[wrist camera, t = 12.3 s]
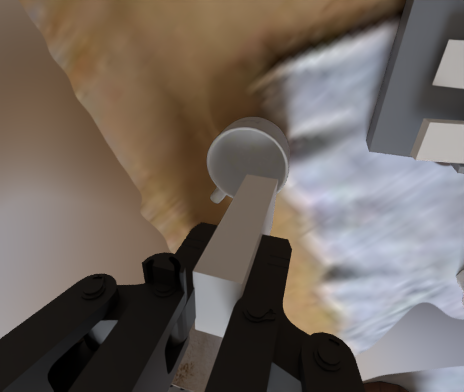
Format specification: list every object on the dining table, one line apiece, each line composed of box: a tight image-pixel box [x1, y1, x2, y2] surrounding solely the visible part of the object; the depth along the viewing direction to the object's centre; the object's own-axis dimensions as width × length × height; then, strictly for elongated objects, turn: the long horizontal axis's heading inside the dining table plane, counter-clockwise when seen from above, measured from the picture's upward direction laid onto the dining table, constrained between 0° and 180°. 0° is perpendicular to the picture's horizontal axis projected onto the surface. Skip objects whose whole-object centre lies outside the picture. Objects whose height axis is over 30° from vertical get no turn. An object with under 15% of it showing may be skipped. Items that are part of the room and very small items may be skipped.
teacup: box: [207, 117, 289, 204], centre depth 42 cm, size 14×11×8 cm
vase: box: [168, 321, 223, 392], centre depth 46 cm, size 13×14×28 cm
